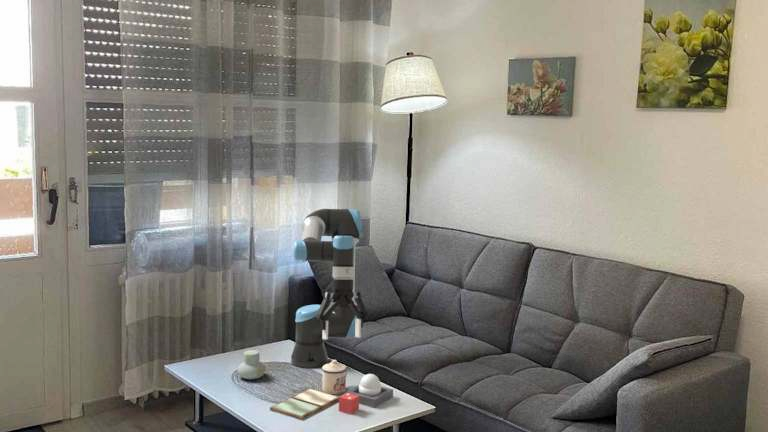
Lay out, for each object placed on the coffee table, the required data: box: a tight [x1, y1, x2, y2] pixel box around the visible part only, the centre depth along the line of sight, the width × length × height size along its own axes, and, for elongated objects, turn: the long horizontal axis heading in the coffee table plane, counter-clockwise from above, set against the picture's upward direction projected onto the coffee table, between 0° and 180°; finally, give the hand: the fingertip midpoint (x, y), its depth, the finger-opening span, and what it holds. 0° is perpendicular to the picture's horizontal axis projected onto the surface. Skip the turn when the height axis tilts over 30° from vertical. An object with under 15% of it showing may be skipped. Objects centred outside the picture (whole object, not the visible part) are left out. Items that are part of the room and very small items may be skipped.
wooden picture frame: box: [269, 388, 340, 421], centre depth 261 cm, size 22×14×1 cm, turn 147°
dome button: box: [358, 373, 382, 398], centre depth 267 cm, size 8×8×7 cm
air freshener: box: [236, 349, 267, 380], centre depth 286 cm, size 11×8×10 cm
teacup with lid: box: [321, 359, 348, 396], centre depth 275 cm, size 12×9×12 cm
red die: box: [338, 393, 360, 415], centre depth 256 cm, size 5×5×5 cm
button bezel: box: [345, 385, 394, 409], centre depth 267 cm, size 12×12×3 cm
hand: (341, 338), depth 264 cm, fingers open, 13 cm apart
